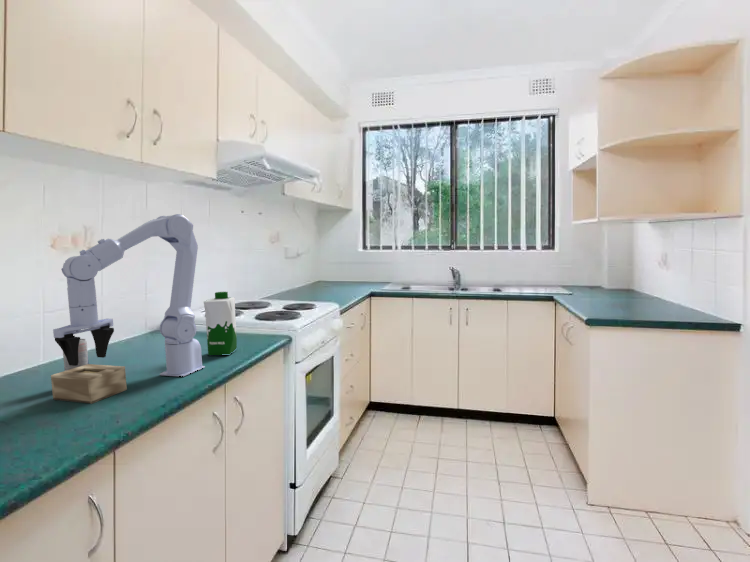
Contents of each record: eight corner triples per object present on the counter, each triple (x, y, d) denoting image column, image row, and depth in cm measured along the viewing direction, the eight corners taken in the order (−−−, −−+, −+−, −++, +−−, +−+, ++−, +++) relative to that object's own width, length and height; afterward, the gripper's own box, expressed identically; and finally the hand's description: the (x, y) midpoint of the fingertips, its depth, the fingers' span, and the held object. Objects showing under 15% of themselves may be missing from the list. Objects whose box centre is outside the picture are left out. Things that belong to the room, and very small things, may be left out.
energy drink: (85, 381, 125) (82, 337, 124) (93, 384, 122) (89, 339, 121) (63, 386, 121) (58, 341, 120) (70, 390, 117) (66, 343, 116)
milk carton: (240, 349, 157) (236, 291, 155) (231, 356, 148) (227, 294, 146) (214, 350, 157) (210, 291, 155) (203, 357, 148) (199, 295, 146)
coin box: (90, 386, 120) (88, 364, 119) (126, 389, 116) (124, 366, 116) (53, 399, 110) (50, 375, 110) (91, 403, 107) (89, 378, 106)
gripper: (67, 310, 103) (73, 370, 105) (120, 301, 117) (125, 354, 118) (44, 310, 106) (49, 368, 107) (99, 301, 119) (103, 353, 121)
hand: (88, 361), depth 113 cm, fingers open, 7 cm apart
